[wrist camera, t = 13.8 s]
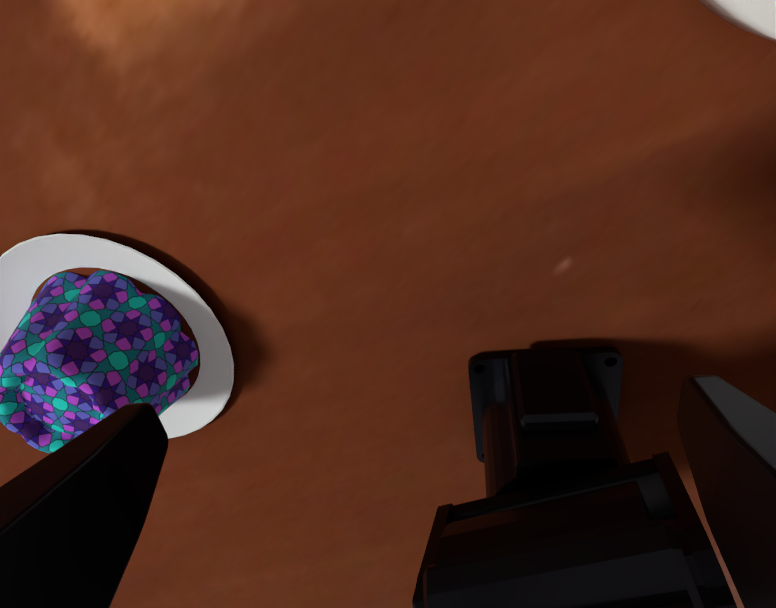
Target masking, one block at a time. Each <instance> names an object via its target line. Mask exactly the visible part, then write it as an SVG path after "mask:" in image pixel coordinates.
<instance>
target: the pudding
mask: <svg viewBox="0 0 776 608" xmlns="http://www.w3.org/2000/svg"><path fill="white" fill-rule="evenodd" d="M79 267H93V268H102V269H107V270H112V271H116V272H119V273H122V274H124V275H127V276H130V277H132V278H134V279H136V280H138V281H140V282H142V283H144V284H146V285H148V286H149V287H151V288H152V289H154V290H155V291H157V292H158V293H160V294H161V295H162V296H163V297H164V298H166V299H167V300H168V301H169V302H170V303H171V304H173V305H174V307H175V308H176V309H177V310H178V311H179V312H180V313H181V314H182V316H183V317H184V318H185V320H186V321H187V323H188V324H189V326H190V327H191V329H192V331H193V333H194V336H195V338H196V340H197V343H198V347H199V351H200V370H199V375H198V378H197V380H196V382H195V384H194V386H193V387H192V388H191V389H190V390H189V392H188V393H187V394H185V393H186V391H187V390H188V388H189V386H190V385H191V383H190V380H189V377H188V373H189V372H190V371H191V370H192V369H193V368H194V367H195V366H197V363H198V355H199V354H198V351H197V348H196V346H195V343H194V341H192V340H191V339H190V338H189V337H187V336H186V335H185V334H184V333H182V332H181V318H180V316H179V315H178V313H177V312H176V311H175V309H174V308H173V307H172V305H171V304H169V303H168V302H166V301H165V300H164V299H162V298H161V297H159V296H158V295H152V294H146V293H141V292H140V291H139V290H138V289H137V288H136V286H135V285H134V284H133V283H132V282H131V281H130V279H128V278H126V277H124V276H121V275H119V274H117V273H115V272H109V271H96V272H95V273H93V274H92V275H90V276H89V277H87V278H85V277H82V276H79V275H77V274H74V273H71V272H64V273H59V274H55V273H57V272H60V271H63V270H66V269H71V268H79ZM53 274H55V275H54V276H53V277H52V278H51V279H49V280H48V281H47V282H46V284H45V285H44V287H43V289H42V290H41V292H40V293H39V295H38V296H37V298H36V299H34V300H33V302H32V303H31V299H32V297H33V295H34V293H35V291H36V289H37V288H38V286H39V285H40V284H41V283H42V282H43V281H44V280H45V279H47V278H48V277H50V276H52V275H53ZM30 304H31V305H30ZM233 382H234V363H233V358H232V353H231V348H230V345H229V342H228V340H227V338H226V335H225V333H224V330H223V328H222V326H221V325H220V323H219V322H218V320H217V318H216V317H215V315H214V314H213V312H212V310H211V309H210V308H209V307H208V305H207V304H206V303H205V302H204V301H203V300H202V298H201V297H200V296H199V295H198V294H197V293H196V291H195V290H193V289H192V288H191V287H190V286H189V285H188V284H187V283H186V282H184V281H183V280H182V279H181V278H180V277H179V276H178V275H176V274H175V273H174V272H172V271H171V270H169V269H168V268H166V267H165V266H163V265H162V264H160V263H159V262H157V261H156V260H154V259H152V258H150V257H148V256H146V255H144V254H142V253H140V252H138V251H136V250H134V249H132V248H130V247H127V246H124V245H121V244H118V243H115V242H113V241H110V240H107V239H102V238H97V237H91V236H86V235H78V234H53V235H46V236H40V237H35V238H32V239H30V240H27V241H24V242H21V243H19V244H17V245H15V246H14V247H13V248H11V249H10V250H8V251H7V252H5V253H4V254H2V256H1V257H0V422H1V423H2V424H3V425H4V426H5V427H7V428H8V429H9V430H11V431H13V432H15V433H18V434H20V435H22V437H23V438H24V439H25V441H26V442H27V443H28V444H29V445H31V446H32V447H34V448H36V449H37V450H40V451H43V452H46V453H53V452H54V451H56V450H57V449H59V448H60V447H62V446H63V445H65V444H66V443H68V442H69V441H71V440H72V439H74V438H75V437H77V436H78V435H80V434H81V433H83V432H84V431H86V430H87V429H89V428H90V427H92V426H93V425H95V424H96V423H98V422H99V421H101V420H102V419H104V418H105V417H107V416H108V415H110V414H112V413H113V412H115V411H116V410H118V409H119V408H121V407H122V406H124V405H125V404H129V403H142V402H146V403H150V404H151V405H152V406H153V407H154V408H155V410H156V412H157V414H158V416H159V418H160V420H161V423H162V425H163V427H164V429H165V431H166V433H167V435H168V439H169V438H173V437H178V436H182V435H186V434H189V433H191V432H193V431H196V430H198V429H200V428H202V427H203V426H205V425H206V424H208V423H209V422H211V421H212V420H213V419H214V418H215V417H216V416H217V415H218V414H219V413H220V412H221V411H222V410H223V408H224V406H225V404H226V402H227V401H228V399H229V397H230V394H231V390H232V386H233ZM184 394H185V395H184ZM183 395H184V396H183ZM181 396H183V397H181ZM180 397H181V398H180ZM179 398H180V399H179Z"/></svg>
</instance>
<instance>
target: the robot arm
mask: <svg viewBox="0 0 776 608" xmlns="http://www.w3.org/2000/svg"><path fill="white" fill-rule="evenodd" d="M609 357H614V358H613V359H612V360H610V361H606V359H607V358H609ZM479 364H481V365H484V367H481V368H477V367H476V365H479ZM468 369H469V380H470V390H471V401H472V411H473V421H474V432H475V442H476V453H477V458H478V460H479V461H481V462H483V463H484V465H485V481H486V498H483V499H479V500H475V501H471V502H466V503H462V504H458V505H454V506H453V504H447V505H442V506H438V509H437V512H436V516H435V519H434V523H433V526H432V529H431V533H430V536H429V540H428V543H427V547H426V550H425V554H424V557H423V561H422V564H421V568H420V571H419V574H418V578H417V583H416V588H415V592H414V596H413V608H737V606H736V603H735V601H734V598H733V596H732V593H731V591H730V588H729V586H728V583H727V581H726V578H725V576H724V574H723V571H722V569H721V566H720V564H719V562H718V559H717V557H716V554H715V552H714V550H713V547H712V545H711V543H710V541H709V538H708V536H707V534H706V531H705V529H704V527H703V525H702V523H701V521H700V518H699V516H698V514H697V512H696V510H695V508H694V506H693V504H692V501H691V499H690V497H689V495H688V493H687V491H686V489H685V487H684V484H683V482H682V480H681V478H680V476H679V474H678V472H677V470H676V467H675V465H674V463H673V461H672V459H671V457H670V455H669V453H668V452H664V453H660V454H656V455H652V456H653V458H652V459H647V460H643V461H639V462H635V463H631V462H630V459H629V456H628V453H627V451H626V448H625V445H624V442H623V439H622V436H621V433H620V430H619V428H618V414H619V403H620V391H621V380H622V369H623V358H622V355H621V353H620V351H619V350H618V349H617V348H614V347H597V348H580V349H559V350H542V351H525V352H512V353H495V354H479V355H474V356H473V357H471V358H470V360H469V363H468ZM678 428H679V432H680V435H681V438H682V442H683V445H684V448H685V451H686V455H687V458H688V461H689V465H690V468H691V471H692V474H693V478H694V481H695V484H696V487H697V491H698V494H699V497H700V501H701V504H702V507H703V510H704V513H705V516H706V519H707V522H708V524H709V527H710V529H711V532H712V534H713V537H714V539H715V541H716V543H717V546H718V548H719V550H720V553H721V555H722V557H723V559H724V562H725V564H726V566H727V569H728V571H729V573H730V575H731V578H732V580H733V582H734V584H735V587H736V589H737V591H738V594H739V596H740V598H741V600H742V603H743V605H744V607H745V608H776V413H775V412H773V411H772V410H770V409H769V408H767V407H765V406H764V405H762V404H761V403H759V402H758V401H756V400H754V399H753V398H751V397H750V396H748V395H747V394H745V393H744V392H742V391H740V390H739V389H737V388H736V387H734V386H733V385H731V384H729V383H728V382H726V381H725V380H723V379H722V378H720V377H718V376H716V375H712V374H707V375H690V376H687V377H686V378H685V379H684V381H683V385H682V391H681V397H680V403H679V409H678ZM167 449H168V435H167V433H166V431H165V429H164V427H163V425H162V423H161V420H160V418H159V416H158V414H157V412H156V410H155V408H154V407H153V406H152V405H151V404H150V403H146V402H142V403H129V404H125V405H124V406H122V407H121V408H119V409H118V410H116V411H115V412H113V413H112V414H110V415H108V416H107V417H105V418H104V419H102V420H101V421H99V422H98V423H96V424H95V425H93V426H92V427H90V428H89V429H87V430H86V431H84V432H83V433H81V434H80V435H78V436H77V437H75V438H74V439H72V440H71V441H69V442H68V443H66V444H65V445H63V446H62V447H60V448H59V449H57V450H56V451H54V452H53V453H51V454H50V455H48V456H46V457H45V458H43V459H42V460H40V461H39V462H37V463H36V464H34V465H33V466H31V467H30V468H28V469H27V470H25V471H24V472H22V473H21V474H19V475H18V476H16V477H15V478H13V479H12V480H10V481H9V482H7V483H6V484H4V485H3V486H1V487H0V608H110V605H111V603H112V601H113V598H114V596H115V593H116V591H117V589H118V586H119V584H120V581H121V579H122V577H123V574H124V572H125V570H126V567H127V565H128V562H129V560H130V558H131V555H132V553H133V550H134V548H135V546H136V543H137V541H138V539H139V536H140V533H141V531H142V528H143V526H144V523H145V520H146V517H147V514H148V511H149V508H150V504H151V501H152V498H153V494H154V491H155V488H156V485H157V481H158V478H159V475H160V472H161V468H162V465H163V462H164V459H165V455H166V452H167Z"/></svg>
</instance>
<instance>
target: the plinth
mask: <svg viewBox="0 0 776 608" xmlns="http://www.w3.org/2000/svg"><path fill="white" fill-rule="evenodd" d="M699 1H700V2H701V3H702V4H703V5H704V6H706V7H707V8H708V9H709V10H710V11H711V12H713V13H714V14H716V15H718V16H719V17H721V18H723V19H724V20H726V21H728V22H729V23H731V24H733V25H734V26H736V27H738V28H739V29H742V30H744V31H747V32H749V33H752V34H755V35H757V36H760V37H762V38H765V39H768V40H770V41H774V42H776V0H699Z"/></svg>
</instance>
